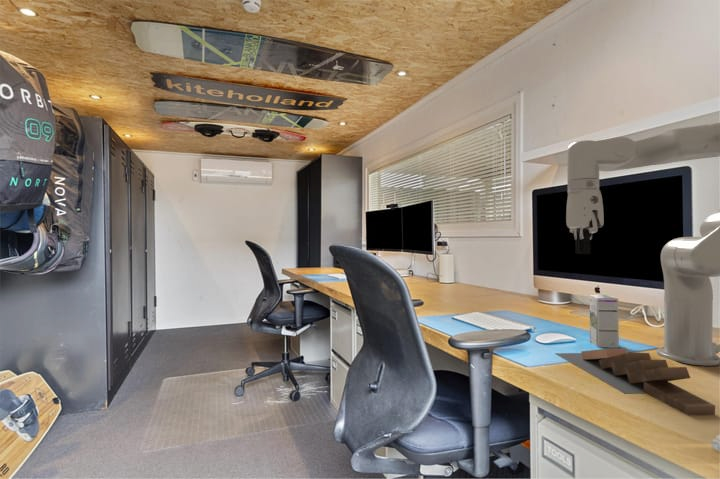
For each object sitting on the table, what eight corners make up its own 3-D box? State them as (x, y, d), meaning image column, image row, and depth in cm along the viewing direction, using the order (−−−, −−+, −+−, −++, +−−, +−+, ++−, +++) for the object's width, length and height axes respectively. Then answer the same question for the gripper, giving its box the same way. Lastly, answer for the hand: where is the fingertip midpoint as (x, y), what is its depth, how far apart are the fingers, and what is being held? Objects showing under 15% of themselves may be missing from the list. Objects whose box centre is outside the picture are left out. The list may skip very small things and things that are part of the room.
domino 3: (611, 366, 86) (641, 360, 77) (632, 366, 86) (665, 359, 77) (614, 376, 85) (645, 370, 76) (635, 375, 85) (669, 370, 76)
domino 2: (598, 360, 90) (626, 353, 81) (619, 360, 90) (648, 352, 81) (601, 369, 89) (629, 362, 80) (622, 368, 89) (652, 362, 80)
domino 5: (643, 381, 76) (687, 405, 66) (667, 381, 76) (715, 405, 66) (643, 391, 76) (687, 417, 66) (667, 390, 76) (714, 416, 66)
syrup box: (619, 349, 106) (619, 297, 106) (596, 347, 108) (596, 297, 107) (610, 343, 112) (610, 294, 112) (588, 342, 113) (588, 294, 113)
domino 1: (602, 359, 96) (629, 357, 87) (582, 359, 96) (607, 357, 87) (600, 351, 97) (626, 348, 88) (581, 351, 97) (605, 348, 87)
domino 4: (626, 373, 81) (660, 367, 72) (649, 373, 81) (686, 367, 72) (629, 383, 80) (664, 378, 71) (652, 383, 80) (690, 378, 71)
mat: (598, 354, 102) (598, 352, 102) (683, 394, 76) (683, 392, 76) (554, 354, 101) (554, 353, 101) (624, 395, 75) (624, 393, 75)
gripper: (615, 183, 96) (615, 255, 96) (579, 190, 111) (579, 252, 111) (586, 183, 96) (586, 255, 96) (554, 190, 111) (554, 252, 111)
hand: (582, 253), depth 103 cm, fingers closed
